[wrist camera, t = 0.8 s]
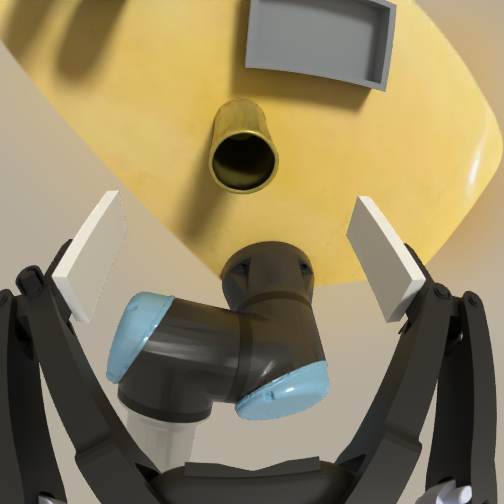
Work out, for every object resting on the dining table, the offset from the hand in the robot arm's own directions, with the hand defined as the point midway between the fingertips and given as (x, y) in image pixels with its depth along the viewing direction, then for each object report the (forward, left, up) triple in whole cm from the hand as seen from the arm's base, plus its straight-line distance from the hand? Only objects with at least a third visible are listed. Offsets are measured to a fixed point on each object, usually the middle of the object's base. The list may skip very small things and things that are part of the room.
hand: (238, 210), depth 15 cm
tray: (+13, -8, -21) cm, 26 cm away
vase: (0, 0, -21) cm, 21 cm away
